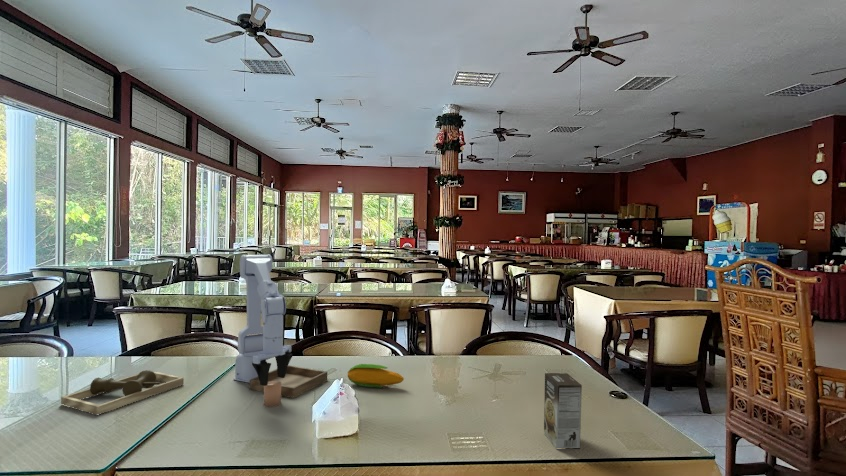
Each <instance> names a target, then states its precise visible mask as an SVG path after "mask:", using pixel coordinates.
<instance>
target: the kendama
mask: <svg viewBox="0 0 846 476" xmlns="http://www.w3.org/2000/svg"><path fill="white" fill-rule="evenodd" d="M152 371H153V370H148V369H145V370H142V371H140V372H139V373H137V374H138V376H137V380H131V381H127V382H122V381H116V379H114V378H112V377H109V378H108V379H104V378H103V379H102V377H95V378H94V379H93V380H92V381H91V383H90V386H89V388H90V391H91V393H92V394H94V395H95V394H98V393H99V392H106V394H107V393H108V394H109V393H111V392H112V391H115V390H120V389H122V394H123V395H124V396H127V395H130V394H133V393H136V392H140V391H142V390H143V389H148V388H151V387H154V386H157V385H160V384H162V383H161V382H160V381H156V380H157V378H156V375H155V373H154V372H155V371H154V372H152Z"/></svg>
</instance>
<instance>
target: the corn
mask: <svg viewBox="0 0 846 476" xmlns="http://www.w3.org/2000/svg"><path fill="white" fill-rule="evenodd" d="M388 368H389V367H387V366H384V365H380V364H373V363H359V364H356V365H354V366H352V367H350V369H349V370H348V371H347V378H348V380H349V381H350V382H351V383H353V384H355V385H358V386H360V387H367V388H379V389H381V388H383V386H393V385H397V384H401V383H402V382H403V381H404V379H405V378H404V376H402V375H401V374H400V373H399V372H398V373H397V372H395V371H391V370H388Z"/></svg>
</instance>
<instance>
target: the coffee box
mask: <svg viewBox="0 0 846 476" xmlns="http://www.w3.org/2000/svg"><path fill="white" fill-rule="evenodd" d="M582 388H583V385H582V384H581V383H580V382H578V380H576V379H575V378H573V377H572V376H571V375H570V374H569V373H564V372H563V373H559V372H546V373H544V400H543V401H544V407H543V408H544V411H543V412H544V413H543V414H544V415H543V433H544V435H545V436H546V437H548V438H547V439H548V440H549V441H551V442H552V443H553V444H552V443H551V442H550V443H551V444H552V445H553V447H554V446H555V447H556V448H580V449H581V421H582V399H583V398H582V396H583V392H582V390H583V389H582ZM555 447H554V448H555ZM556 448H555V449H556Z"/></svg>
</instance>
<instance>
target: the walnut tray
mask: <svg viewBox="0 0 846 476" xmlns="http://www.w3.org/2000/svg"><path fill="white" fill-rule="evenodd" d="M269 381H280V382H281V397H282V396H284V397H288V398H292V399H294V398H296V397H299V396H300V395H302V394H304V393H306V392H308V391H309V390H311V389H313V388H316V387H317V386H319V385H322V384H323V383H324V382H326V381H328V371H325V370H320V369H314V368H308V367H301V366H295V365H289V364H288V367H287V370H286V374H285V378H280V377H278V374H277V368H276V369H275V368H274V369H273V370H271V371H270V370H269V374H268V382H269ZM249 390H254V391H258V392H263V393H264V386H263V385H260V381H259V378H258V377H256V378H253V379H251V380H250V383H249Z"/></svg>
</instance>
